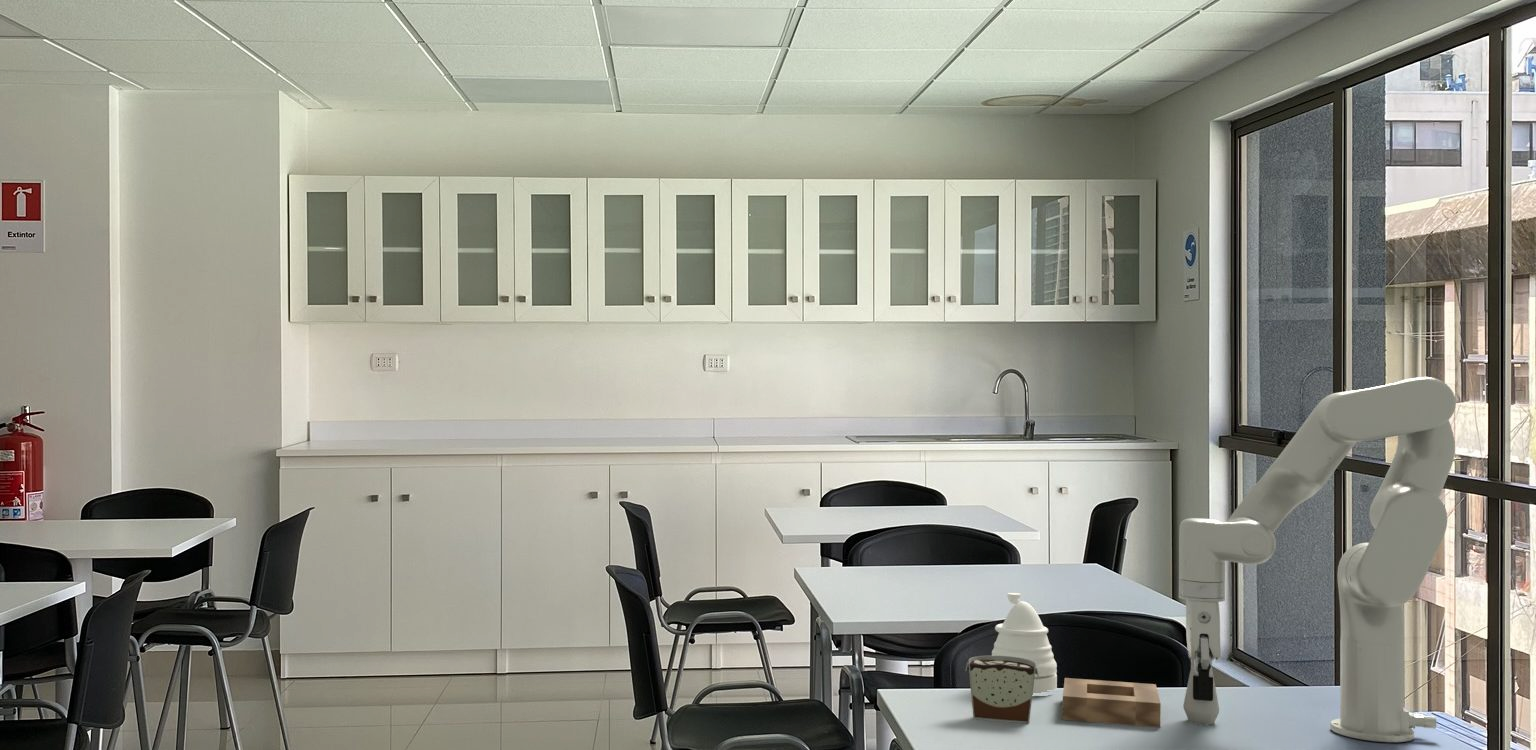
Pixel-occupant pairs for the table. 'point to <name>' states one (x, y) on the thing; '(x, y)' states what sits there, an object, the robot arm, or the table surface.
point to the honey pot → (1027, 642)
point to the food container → (1001, 687)
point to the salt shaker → (1200, 702)
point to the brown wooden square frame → (1111, 702)
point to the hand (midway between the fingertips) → (1201, 694)
